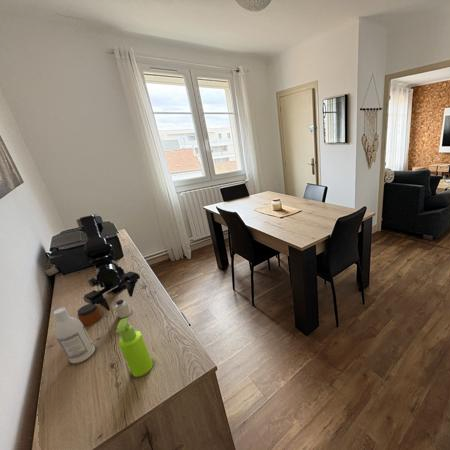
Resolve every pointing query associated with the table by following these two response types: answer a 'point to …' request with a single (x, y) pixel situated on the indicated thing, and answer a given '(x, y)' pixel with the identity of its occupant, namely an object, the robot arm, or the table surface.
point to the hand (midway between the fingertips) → (120, 303)
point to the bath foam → (72, 337)
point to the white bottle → (122, 309)
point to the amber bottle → (89, 314)
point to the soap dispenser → (134, 349)
